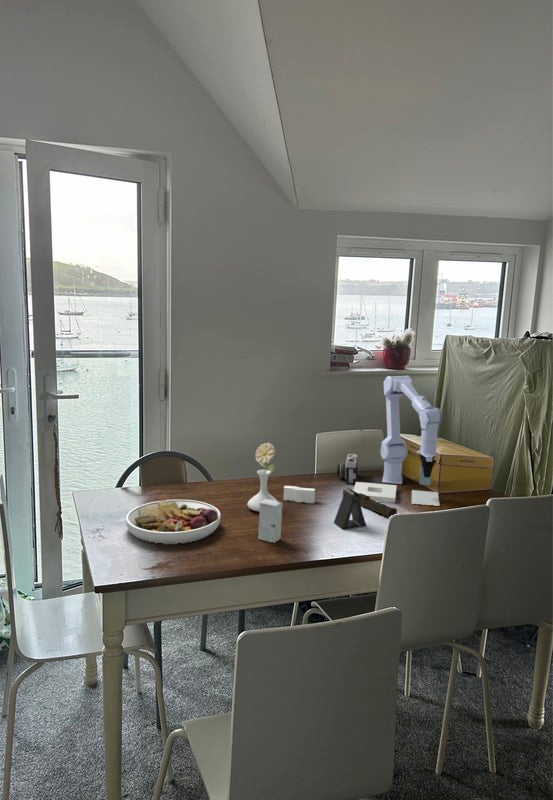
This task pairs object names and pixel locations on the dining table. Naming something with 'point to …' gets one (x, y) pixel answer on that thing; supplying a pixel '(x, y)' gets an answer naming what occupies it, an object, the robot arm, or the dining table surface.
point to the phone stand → (350, 511)
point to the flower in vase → (263, 475)
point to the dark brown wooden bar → (376, 506)
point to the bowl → (173, 521)
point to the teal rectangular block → (423, 479)
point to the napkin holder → (299, 494)
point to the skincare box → (270, 520)
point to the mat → (425, 498)
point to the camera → (349, 469)
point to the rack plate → (377, 491)
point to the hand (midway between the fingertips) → (426, 475)
